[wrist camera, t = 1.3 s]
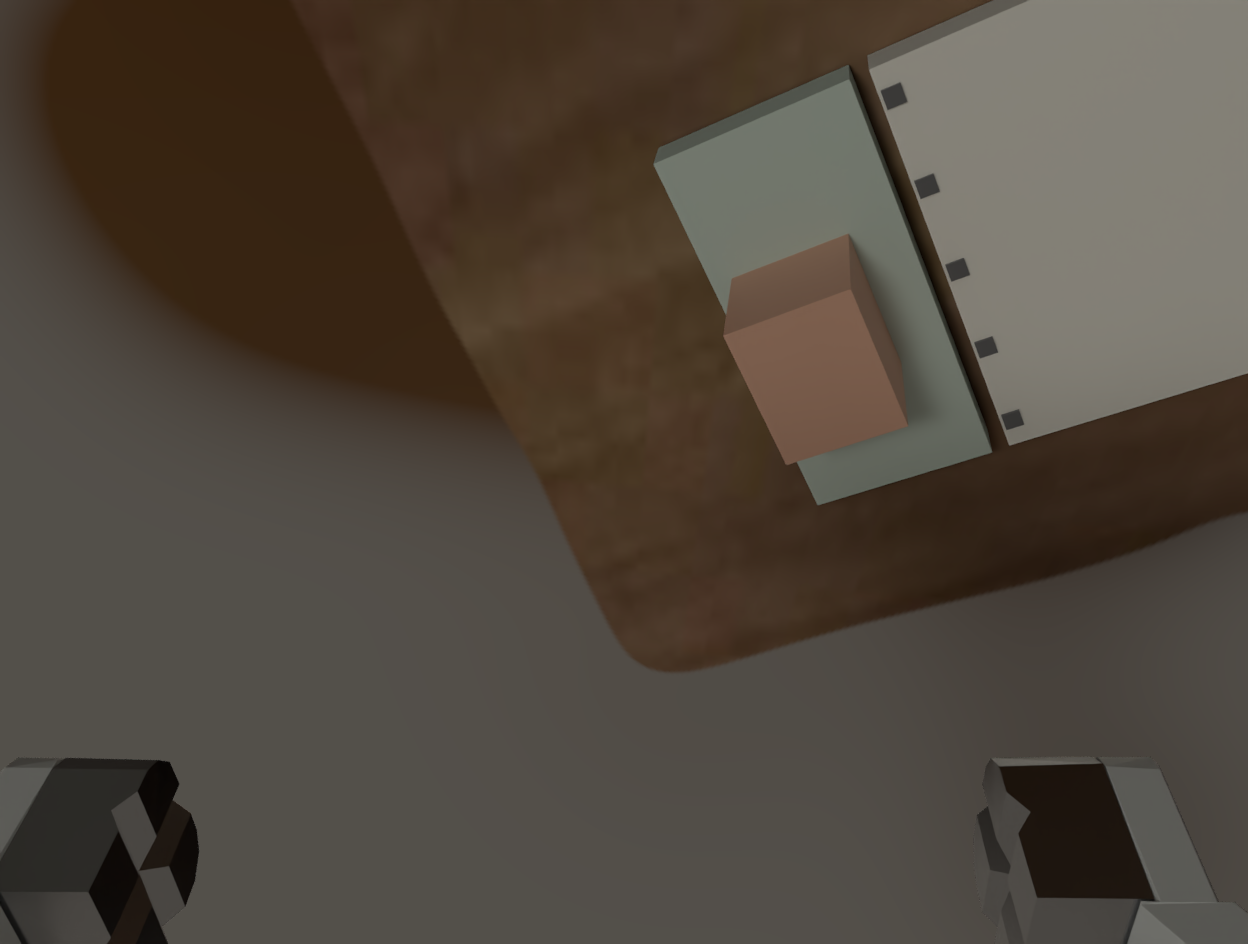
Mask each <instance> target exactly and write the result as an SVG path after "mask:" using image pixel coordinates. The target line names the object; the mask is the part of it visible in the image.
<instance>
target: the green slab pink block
mask: <svg viewBox="0 0 1248 944" xmlns="http://www.w3.org/2000/svg"><path fill="white" fill-rule="evenodd" d="M654 166H655V168H656V171H657V173H658V175H659V177H660V179H661V181H662V183H663V185H664V187H665V189H666V191H667V193H668V195H669V198H670V200H671V202H672V204H673V206H674V208H675V210H676V212H677V214H678V216H679V218H680V220H681V222H682V225H683V227H684V229H685V231H686V233H687V235H688V237H689V239H690V241H691V243H692V245H693V247H694V249H695V251H696V254H697V256H698V258H699V260H700V262H701V264H702V266H703V268H704V270H705V272H706V274H707V276H708V278H709V281H710V283H711V285H712V287H713V289H714V291H715V293H716V295H717V297H718V299H719V301H720V303H721V305H722V308H723V310H724V312H725V314H726V320H725V327H724V334H723V336H724V338H725V341H726V343H727V345H728V347H729V349H730V351H731V353H732V355H733V357H734V359H735V361H736V363H737V365H738V367H739V369H740V371H741V373H742V375H743V377H744V379H745V382H746V384H747V386H748V388H749V390H750V392H751V394H752V396H753V398H754V400H755V402H756V404H757V406H758V408H759V410H760V412H761V414H762V416H763V418H764V420H765V423H766V425H767V427H768V429H769V431H770V433H771V435H772V437H773V439H774V441H775V443H776V445H777V447H778V449H779V451H780V453H781V455H782V457H783V459H784V461H785V464H786V465H788V464H792V463H795V462H797V463H798V465H799V467H800V469H801V472H802V474H803V476H804V478H805V480H806V482H807V484H808V486H809V488H810V490H811V492H812V494H813V496H814V499H815V501H816V503H817V505H821V504H824V503H827V502H830V501H834V500H837V499H840V498H844V497H847V496H850V495H853V494H857V493H860V492H863V491H867V490H870V489H873V488H877V487H880V486H883V485H886V484H890V483H893V482H896V481H900V480H903V479H906V478H910V477H913V476H916V475H919V474H923V473H926V472H929V471H933V470H936V469H939V468H943V467H946V466H949V465H952V464H956V463H959V462H962V461H966V460H969V459H972V458H976V457H979V456H982V455H985V454H989V453H992V449H991V444H990V439H989V434H988V430H987V427H986V424H985V422H984V419H983V416H982V414H981V411H980V409H979V406H978V403H977V401H976V398H975V395H974V393H973V390H972V388H971V385H970V382H969V380H968V377H967V374H966V372H965V369H964V367H963V364H962V361H961V359H960V356H959V353H958V351H957V348H956V346H955V343H954V340H953V338H952V335H951V332H950V330H949V327H948V325H947V322H946V319H945V317H944V314H943V311H942V309H941V306H940V304H939V301H938V298H937V296H936V293H935V290H934V288H933V285H932V283H931V280H930V277H929V275H928V272H927V269H926V267H925V264H924V262H923V259H922V256H921V254H920V251H919V248H918V246H917V243H916V241H915V238H914V235H913V233H912V230H911V227H910V225H909V222H908V220H907V217H906V214H905V212H904V209H903V206H902V204H901V201H900V199H899V196H898V193H897V191H896V188H895V185H894V183H893V180H892V178H891V175H890V172H889V170H888V167H887V164H886V162H885V159H884V157H883V154H882V151H881V149H880V146H879V143H878V141H877V138H876V136H875V133H874V130H873V128H872V125H871V122H870V120H869V117H868V115H867V112H866V109H865V107H864V104H863V101H862V99H861V96H860V94H859V91H858V88H857V86H856V83H855V80H854V78H853V75H852V73H851V70H850V67H849V65H847V66H845V67H842V68H840V69H838V70H835V71H833V72H831V73H829V74H826V75H824V76H822V77H819V78H817V79H815V80H813V81H810V82H808V83H806V84H803V85H801V86H799V87H797V88H794V89H792V90H790V91H787V92H785V93H783V94H781V95H778V96H776V97H774V98H771V99H769V100H767V101H765V102H762V103H760V104H758V105H755V106H753V107H751V108H749V109H746V110H744V111H742V112H739V113H737V114H735V115H733V116H730V117H728V118H726V119H723V120H721V121H719V122H717V123H714V124H712V125H710V126H708V127H705V128H703V129H701V130H698V131H696V132H694V133H692V134H689V135H687V136H685V137H682V138H680V139H678V140H676V141H673V142H671V143H669V144H666V145H664V146H662V147H660V148H659V149H658V152H657V155H656V158H655V161H654Z"/></svg>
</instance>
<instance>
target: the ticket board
mask: <svg viewBox="0 0 1248 944" xmlns="http://www.w3.org/2000/svg"><path fill="white" fill-rule="evenodd" d="M867 56H868V65H869V71H870V74H871V76H872V79H873V82H874V84H875V87H876V90H877V93H878V95H879V98H880V101H881V103H882V106H883V109H884V111H885V114H886V117H887V119H888V122H889V125H890V127H891V130H892V133H893V135H894V138H895V141H896V143H897V146H898V149H899V151H900V154H901V157H902V160H903V162H904V165H905V168H906V170H907V173H908V176H909V178H910V181H911V184H912V186H913V189H914V192H915V194H916V197H917V200H918V202H919V205H920V208H921V210H922V213H923V216H924V218H925V221H926V224H927V226H928V229H929V232H930V235H931V237H932V240H933V243H934V245H935V248H936V251H937V253H938V256H939V259H940V261H941V264H942V267H943V269H944V272H945V275H946V277H947V280H948V283H949V285H950V288H951V291H952V293H953V296H954V299H955V302H956V304H957V307H958V310H959V312H960V315H961V318H962V320H963V323H964V326H965V328H966V331H967V334H968V336H969V339H970V342H971V344H972V347H973V350H974V352H975V355H976V358H977V360H978V363H979V366H980V368H981V371H982V374H983V377H984V379H985V382H986V385H987V387H988V390H989V393H990V395H991V398H992V401H993V403H994V406H995V409H996V411H997V414H998V417H999V419H1000V422H1001V425H1002V427H1003V430H1004V433H1005V435H1006V438H1007V441H1008V444H1009V446H1010V445H1013V444H1016V443H1019V442H1023V441H1026V440H1029V439H1033V438H1036V437H1039V436H1042V435H1046V434H1049V433H1052V432H1056V431H1059V430H1062V429H1065V428H1069V427H1072V426H1075V425H1079V424H1082V423H1085V422H1089V421H1092V420H1095V419H1098V418H1102V417H1105V416H1108V415H1112V414H1115V413H1118V412H1121V411H1125V410H1128V409H1131V408H1135V407H1138V406H1141V405H1145V404H1148V403H1151V402H1154V401H1158V400H1161V399H1164V398H1168V397H1171V396H1174V395H1177V394H1181V393H1184V392H1187V391H1191V390H1194V389H1197V388H1200V387H1204V386H1207V385H1210V384H1214V383H1217V382H1220V381H1224V380H1227V379H1230V378H1233V377H1237V376H1240V375H1243V374H1247V373H1248V0H993V1H991V2H988V3H986V4H984V5H982V6H979V7H977V8H975V9H972V10H970V11H968V12H966V13H963V14H961V15H959V16H956V17H954V18H952V19H950V20H947V21H945V22H943V23H940V24H938V25H936V26H934V27H931V28H929V29H927V30H924V31H922V32H920V33H918V34H915V35H913V36H911V37H909V38H906V39H904V40H902V41H899V42H897V43H895V44H893V45H890V46H888V47H886V48H883V49H881V50H879V51H877V52H874V53H872V54H870V55H867Z"/></svg>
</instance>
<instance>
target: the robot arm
mask: <svg viewBox="0 0 1248 944" xmlns="http://www.w3.org/2000/svg"><path fill="white" fill-rule="evenodd" d="M178 786H179V782H178V779H177V777H176V775H175V773H174V771H173V768H172V766H171V764H170V762H167V761H161V760H132V759H92V758H19V757H18V758H17V759H16V760H14V761H13V762H11V763H10V764H9V765H7V766H6V767H5V768H4V769H3V770H2V771H1V773H0V944H168V941H167V939H166V936H165V933H164V930H163V928H162V926H163V925H165V924H166V923H167V922H168V921H169V920H170V919H172V918H173V917H174V916H175V915H176V914H177V913H179V912H180V911H181V910H182V909H183V908H184V907H185V906H186V904H187V901H188V898H189V895H190V893H191V890H192V887H193V885H194V882H195V877H196V870H197V863H198V856H199V845H198V836H197V829H196V826H195V824H194V821H193V818H192V815H191V813H189V812H188V811H187V810H185V809H184V808H183V807H181V806H180V805H178V804H177V803H176V802H174V801H173V798H174V795H175V793H176V791H177V789H178ZM983 789H984V793H985V796H986V800H987V804H988V806H987V807H986V808H985V809H984V810H982V811H981V812H980V813H979V814H978V815H977V817H976V824H975V831H974V839H973V843H974V844H973V845H974V871H975V878H976V885H977V891H978V895H979V900H980V904H981V908H982V912H983V913H984V914H985V915H986V916H987V917H988V918H989V919H990V920H991V921H992V922H993V923H994V924H995V925H996V926H997V927H998V928H997V933H996V938H995V943H994V944H1248V912H1247V911H1245V910H1244V909H1243V908H1242V907H1240V906H1239V905H1238V904H1237V903H1234V902H1219V901H1218V899H1217V896H1216V894H1215V892H1214V889H1213V888H1212V885H1211V882H1210V880H1209V878H1208V876H1207V874H1206V871H1205V869H1204V866H1203V864H1202V862H1201V860H1200V858H1199V855H1198V853H1197V851H1196V848H1195V846H1194V844H1193V841H1192V839H1191V837H1190V835H1189V832H1188V830H1187V828H1186V825H1185V823H1184V821H1183V819H1182V816H1181V814H1180V812H1179V809H1178V807H1177V805H1176V803H1175V800H1174V798H1173V796H1172V793H1171V791H1170V789H1169V787H1168V784H1167V782H1166V780H1165V778H1164V775H1163V773H1162V771H1161V768H1160V766H1159V765H1158V764H1157V763H1156V762H1155V761H1154V760H1153V759H1152V758H1151V757H1097V758H1093V757H1025V758H1024V757H1021V758H991V759H990V761H989V762H988V764H987V766H986V769H985V774H984V779H983Z"/></svg>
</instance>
